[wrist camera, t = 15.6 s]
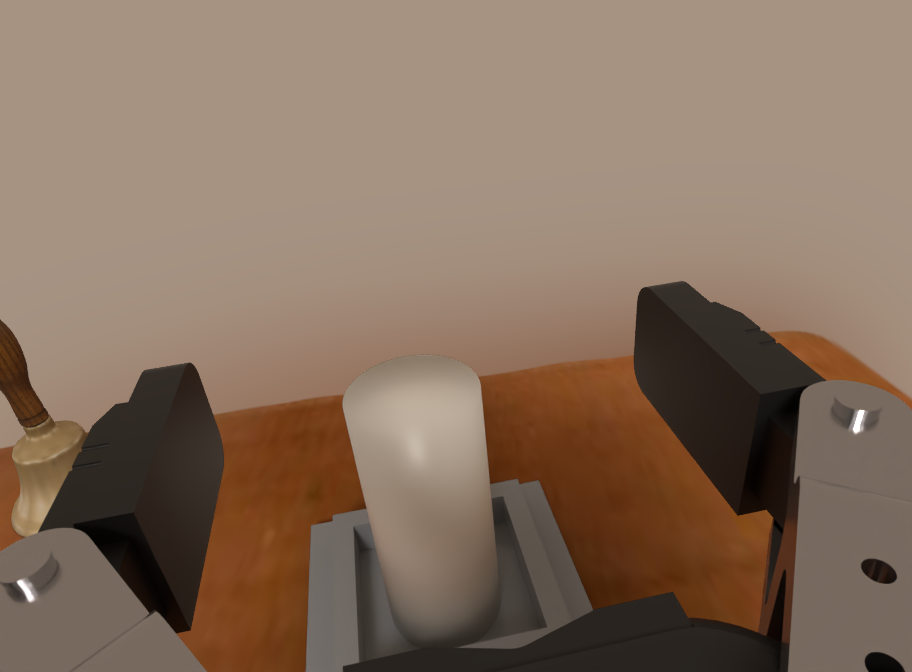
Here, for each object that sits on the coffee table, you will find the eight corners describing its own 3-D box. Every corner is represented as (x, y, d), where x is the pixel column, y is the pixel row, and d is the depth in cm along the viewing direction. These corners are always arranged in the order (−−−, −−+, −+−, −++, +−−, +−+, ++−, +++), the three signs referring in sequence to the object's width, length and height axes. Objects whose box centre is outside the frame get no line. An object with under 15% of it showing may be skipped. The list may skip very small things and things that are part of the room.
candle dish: (305, 788, 28) (290, 752, 26) (313, 534, 41) (303, 500, 39) (630, 710, 29) (633, 672, 28) (539, 489, 42) (537, 454, 41)
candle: (395, 662, 32) (342, 449, 25) (387, 566, 37) (342, 366, 30) (512, 638, 32) (493, 422, 25) (488, 546, 37) (467, 345, 30)
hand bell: (116, 528, 43) (12, 324, 35) (-10, 550, 43) (-146, 347, 35) (150, 450, 50) (70, 266, 42) (43, 468, 50) (-59, 284, 42)
